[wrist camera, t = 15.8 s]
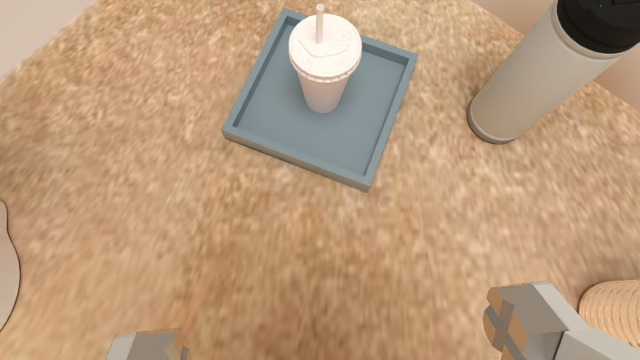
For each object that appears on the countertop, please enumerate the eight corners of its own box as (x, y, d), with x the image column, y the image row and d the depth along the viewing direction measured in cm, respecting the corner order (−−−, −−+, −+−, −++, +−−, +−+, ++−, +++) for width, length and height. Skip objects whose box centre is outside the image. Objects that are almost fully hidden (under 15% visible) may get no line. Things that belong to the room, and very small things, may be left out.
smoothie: (298, 67, 44) (293, -32, 31) (355, 77, 44) (375, -20, 31) (287, 119, 42) (277, 37, 29) (346, 129, 42) (363, 52, 29)
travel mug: (532, 141, 43) (709, 17, 24) (473, 147, 43) (605, 27, 24) (517, 89, 45) (671, -64, 26) (460, 95, 45) (574, -56, 25)
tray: (226, 138, 42) (221, 129, 40) (284, 21, 47) (283, 7, 45) (366, 192, 41) (369, 186, 39) (413, 66, 45) (418, 55, 43)
